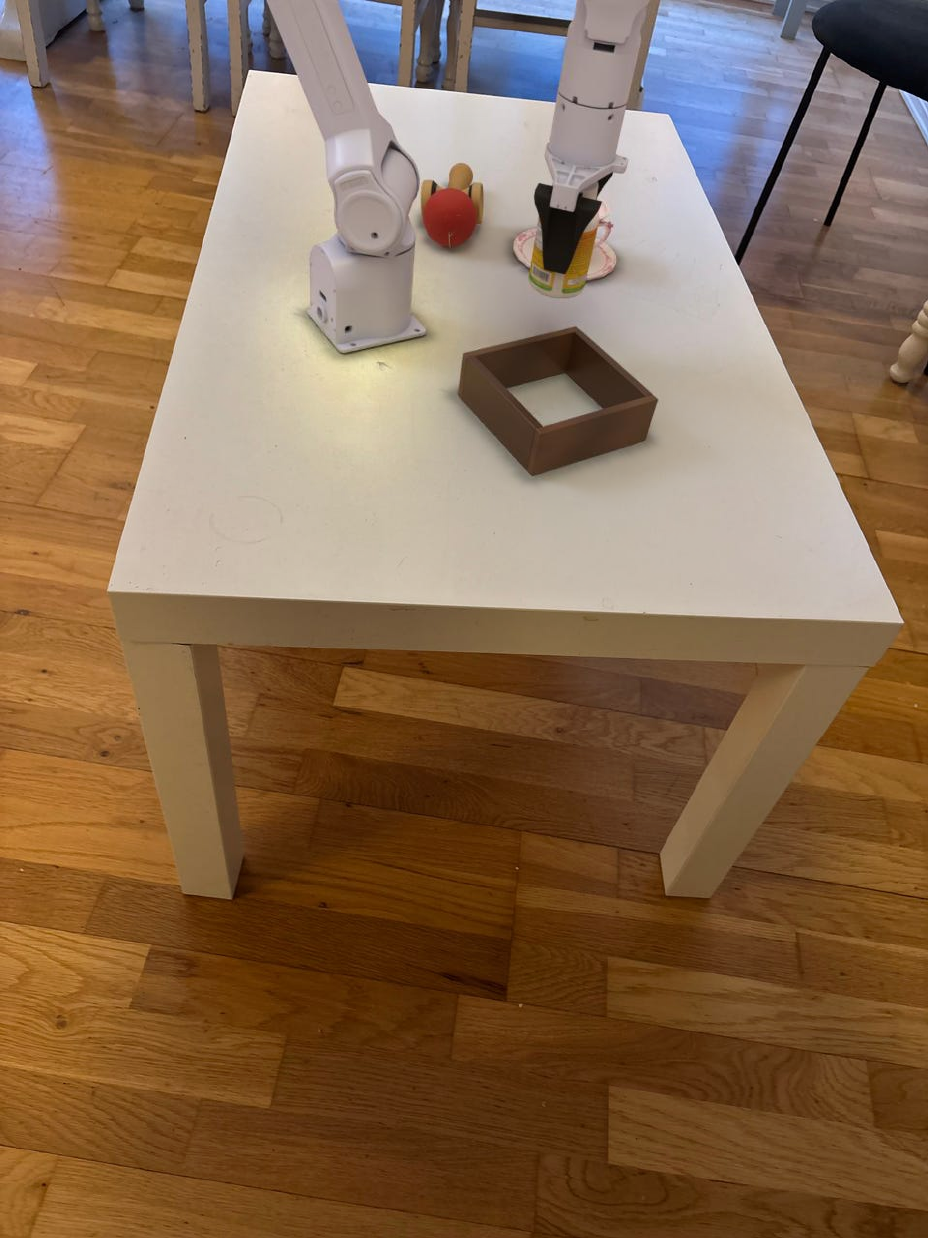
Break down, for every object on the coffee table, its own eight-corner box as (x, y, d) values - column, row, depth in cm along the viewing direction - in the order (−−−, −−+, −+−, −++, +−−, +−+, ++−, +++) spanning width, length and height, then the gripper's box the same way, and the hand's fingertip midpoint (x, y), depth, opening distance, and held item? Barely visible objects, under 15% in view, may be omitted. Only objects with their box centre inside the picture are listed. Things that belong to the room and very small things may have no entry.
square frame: (531, 476, 78) (540, 433, 75) (457, 395, 85) (462, 352, 81) (645, 440, 83) (658, 399, 80) (567, 366, 90) (576, 325, 86)
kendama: (421, 193, 114) (405, 240, 101) (435, 140, 110) (420, 182, 97) (480, 213, 115) (472, 263, 102) (496, 162, 111) (490, 206, 98)
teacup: (493, 258, 103) (501, 203, 98) (540, 221, 110) (549, 168, 105) (590, 294, 99) (602, 239, 95) (631, 253, 107) (644, 201, 102)
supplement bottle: (584, 275, 88) (607, 172, 81) (583, 304, 84) (607, 198, 77) (529, 267, 88) (547, 162, 81) (525, 295, 84) (544, 188, 77)
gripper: (628, 137, 69) (590, 303, 79) (651, 77, 78) (615, 231, 88) (537, 118, 69) (511, 284, 79) (571, 60, 79) (544, 215, 89)
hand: (561, 255), depth 84 cm, fingers closed on supplement bottle, 5 cm apart
